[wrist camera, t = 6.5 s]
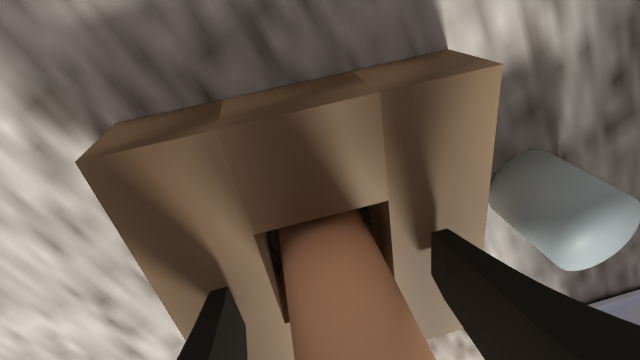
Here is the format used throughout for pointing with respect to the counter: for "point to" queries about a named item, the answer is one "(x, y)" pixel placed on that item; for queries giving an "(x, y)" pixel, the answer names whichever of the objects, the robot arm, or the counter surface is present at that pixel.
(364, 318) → the long peg
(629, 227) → the short peg
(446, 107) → the socket block
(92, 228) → the counter surface
